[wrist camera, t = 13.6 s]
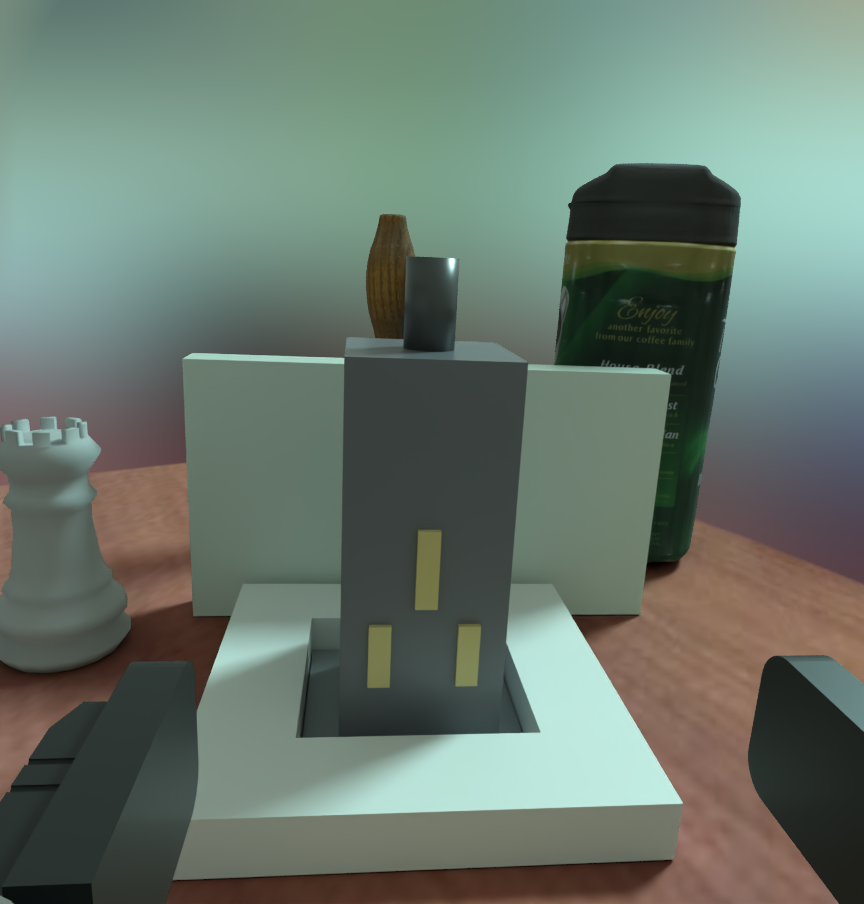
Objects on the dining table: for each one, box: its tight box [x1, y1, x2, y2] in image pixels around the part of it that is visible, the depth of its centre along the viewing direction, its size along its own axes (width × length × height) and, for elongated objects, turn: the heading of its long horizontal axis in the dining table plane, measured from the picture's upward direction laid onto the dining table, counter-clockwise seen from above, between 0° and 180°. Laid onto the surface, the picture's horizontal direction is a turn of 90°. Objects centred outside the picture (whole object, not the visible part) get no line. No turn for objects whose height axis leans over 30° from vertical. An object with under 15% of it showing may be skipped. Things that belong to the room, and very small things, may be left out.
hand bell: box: [366, 214, 415, 339], centre depth 37 cm, size 8×8×16 cm
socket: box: [173, 353, 683, 880], centre depth 22 cm, size 18×14×10 cm
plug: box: [339, 256, 528, 737], centre depth 21 cm, size 4×5×13 cm
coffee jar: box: [554, 163, 741, 562], centre depth 36 cm, size 10×8×19 cm
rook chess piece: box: [0, 417, 131, 673], centre depth 25 cm, size 4×4×8 cm
